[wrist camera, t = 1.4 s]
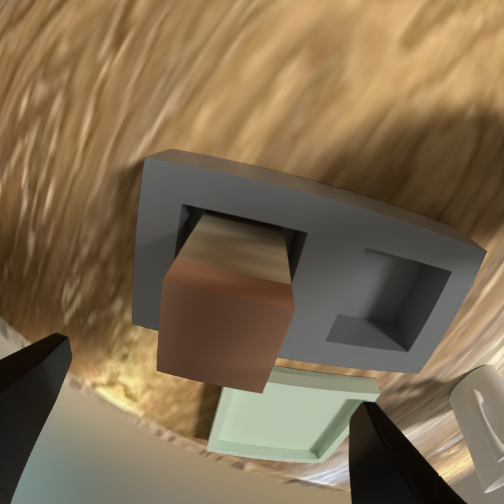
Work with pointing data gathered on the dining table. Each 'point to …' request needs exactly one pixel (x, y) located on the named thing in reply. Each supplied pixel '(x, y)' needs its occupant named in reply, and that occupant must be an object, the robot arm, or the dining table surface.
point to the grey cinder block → (315, 259)
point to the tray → (289, 416)
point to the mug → (482, 422)
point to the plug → (226, 303)
